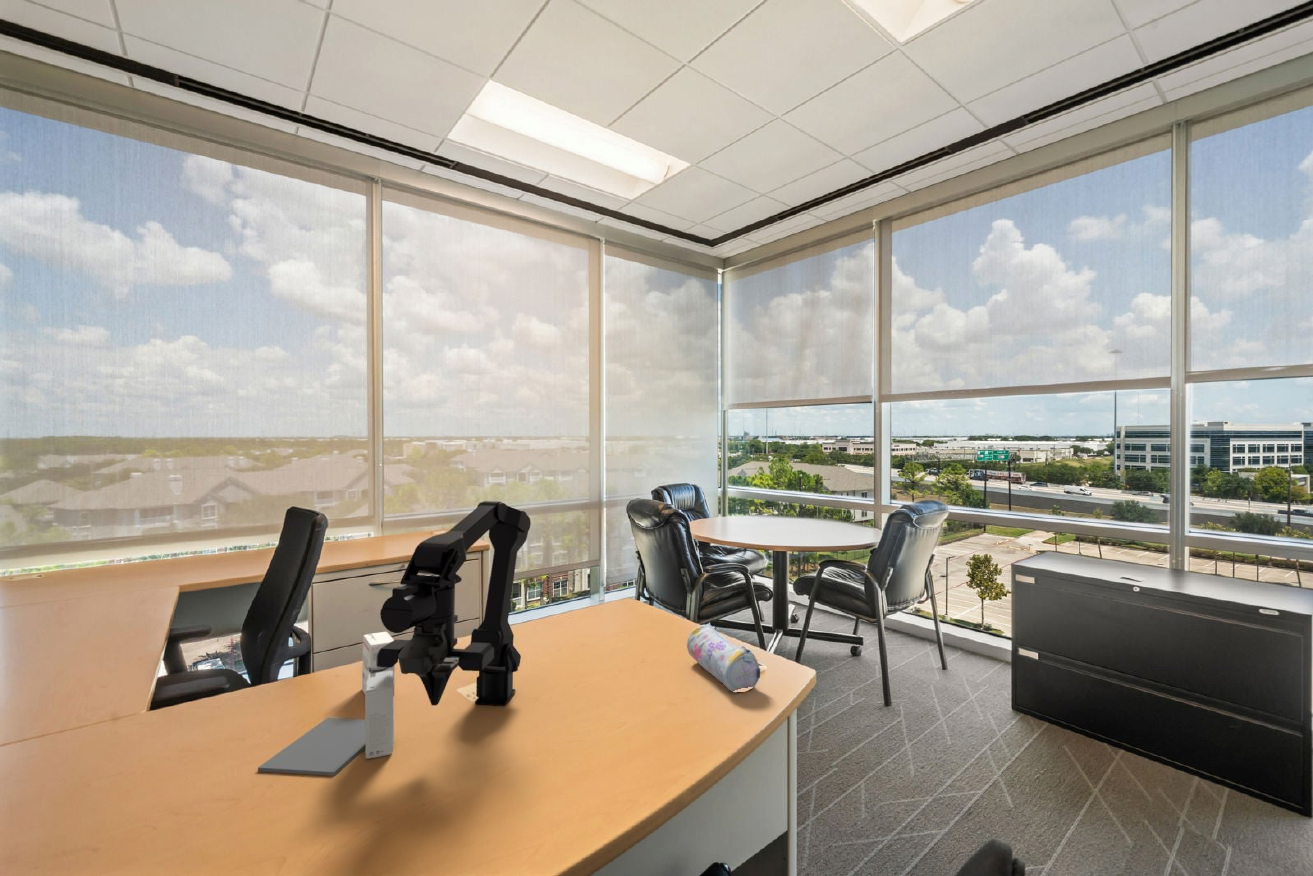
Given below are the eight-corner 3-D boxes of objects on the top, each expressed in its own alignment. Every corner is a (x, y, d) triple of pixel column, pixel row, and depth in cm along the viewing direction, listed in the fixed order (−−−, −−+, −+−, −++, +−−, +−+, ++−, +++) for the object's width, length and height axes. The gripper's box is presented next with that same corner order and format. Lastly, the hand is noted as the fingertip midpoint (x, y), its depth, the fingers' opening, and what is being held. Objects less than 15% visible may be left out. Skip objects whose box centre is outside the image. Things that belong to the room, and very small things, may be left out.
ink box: (395, 697, 111) (396, 640, 111) (369, 704, 108) (370, 646, 108) (385, 683, 117) (387, 629, 118) (360, 689, 114) (362, 634, 115)
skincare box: (393, 754, 90) (395, 687, 89) (363, 761, 88) (364, 692, 87) (394, 732, 95) (395, 668, 94) (365, 738, 93) (367, 673, 92)
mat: (392, 724, 100) (392, 721, 100) (334, 776, 84) (334, 772, 84) (327, 720, 101) (327, 717, 101) (257, 771, 85) (257, 767, 85)
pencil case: (762, 692, 115) (763, 648, 115) (728, 699, 111) (728, 654, 111) (714, 657, 134) (715, 620, 134) (684, 662, 130) (684, 624, 131)
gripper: (356, 627, 84) (353, 726, 84) (468, 631, 83) (467, 732, 82) (395, 606, 95) (394, 694, 95) (495, 610, 94) (494, 698, 93)
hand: (435, 704), depth 91 cm, fingers closed
